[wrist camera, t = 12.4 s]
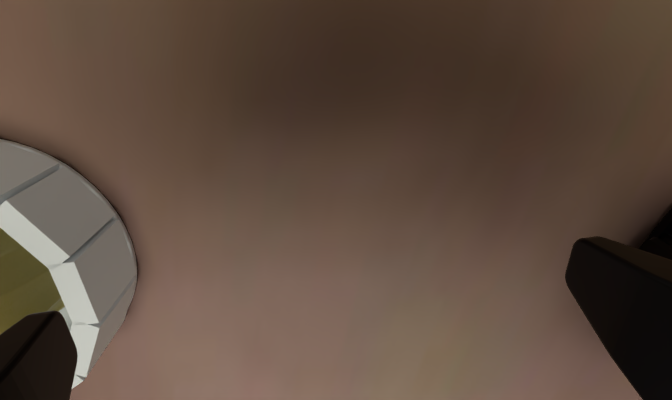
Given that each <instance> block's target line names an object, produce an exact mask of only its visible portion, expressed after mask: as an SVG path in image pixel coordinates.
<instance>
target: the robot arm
mask: <svg viewBox="0 0 672 400" xmlns="http://www.w3.org/2000/svg"><path fill="white" fill-rule="evenodd" d="M565 279H566V283H567V286H568V288H569V290H570V291H571V293H572V295H573V296H574V298H575V299H576V301H577V303H578V304H579V306H580V308H581V309H582V311H583V312H584V314H585V316H586V317H587V319H588V321H589V322H590V324H591V326H592V327H593V329H594V330H595V332H596V334H597V335H598V337H599V339H600V340H601V342H602V343H603V345H604V347H605V348H606V350H607V351H608V353H609V354H610V356H611V357H612V359H613V360H614V362H615V363H616V364H617V366H618V367H619V369H620V370H621V371H622V373H623V374H624V375H625V377H626V378H627V379H628V381H629V382H630V383H631V385H632V386H633V387H634V389H635V390H636V391H637V393H638V394H639V395H640V397H641V398H642V399H643V400H672V208H671V210H670V211H669V212H668V213H667V215H666V216H665V217H664V218H663V220H662V221H661V222H660V223H659V225H658V226H657V227H656V228H655V230H654V231H653V232H652V233H651V235H650V236H649V237H648V238H647V240H646V241H645V242H644V243H643V244H642V246H641V247H640V248H639V249H636V248H633V247H630V246H627V245H624V244H621V243H618V242H615V241H612V240H609V239H606V238H603V237H598V236H596V237H588V238H581V239H579V240H577V241H576V242H575V243H574V245H573V248H572V251H571V255H570V259H569V262H568V266H567V269H566V274H565ZM77 358H78V355H77V348H76V345H75V343H74V340H73V338H72V336H71V333H70V331H69V329H68V326H67V324H66V321H65V319H64V317H63V315H62V314H61V313H60V312H58V311H54V310H53V311H46V312H38V313H32V314H29V315H27V316H25V317H24V318H22V319H21V320H20V321H18V322H17V323H15V324H14V325H13V326H11V327H10V328H8V329H7V330H6V331H4V332H3V333H2V334H0V400H69V399H70V394H71V390H72V385H73V380H74V375H75V370H76V366H77Z"/></svg>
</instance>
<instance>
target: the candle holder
mask: <svg viewBox="0 0 672 400" xmlns="http://www.w3.org/2000/svg"><path fill="white" fill-rule="evenodd" d="M0 228H1V229H2V230H4V231H5V232H6V233H7V234H8V235H10V236H11V237H12V238H13V239H14V240H15V241H17V242H18V243H19V244H20V245H21V246H22V247H24V248H25V249H26V250H27V251H28V252H30V253H31V254H32V255H33V256H34V257H35V258H37V259H38V260H39V261H40V262H41V263H42V264H44V265H45V266H46V267H47V268H48V269H49V271H50V273H51V276H52V278H53V280H54V282H55V285H56V287H57V289H58V292H59V294H60V296H61V298H62V301H63V303H64V305H65V307H64V308H63V309H61V310H60V311H58V312H60V313H61V314H62V315H63V317H64V319H65V321H66V324H67V326H68V329H69V331H70V333H71V336H72V338H73V340H74V343H75V345H76V348H77V355H78V358H77V366H76V370H75V375H74V380H73V385H72V388H74V387H75V386H77V385H78V384H80V383H81V382H83V381H84V379H85V378H86V377H87V375H88V374H89V372H90V371H91V369H92V368H93V367H94V365H95V364H96V362H97V361H98V359H99V358H100V356H101V355H102V353H103V352H104V350H105V349H106V347H107V346H108V344H109V343H110V341H111V340H112V338H113V337H114V335H115V334H116V333H117V331H118V330H119V328H120V327H121V325H122V324H123V322H124V320H125V317H126V314H127V310H128V308H129V306H130V304H131V301H132V299H133V296H134V293H135V288H136V284H137V263H136V255H135V251H134V248H133V244H132V241H131V239H130V236H129V234H128V231H127V229H126V227H125V225H124V224H123V222H122V220H121V218H120V217H119V215H118V213H117V212H116V211H115V209H114V208H113V207H112V205H111V204H110V203H109V201H108V200H107V199H106V198H105V197H104V196H103V195H102V194H101V192H100V191H99V190H98V189H97V188H96V187H95V186H94V185H92V184H91V183H90V182H89V181H88V180H87V179H86V178H84V177H83V176H82V175H81V174H79V173H78V172H76V171H75V170H74V169H72V168H71V167H69V166H68V165H66V164H65V163H63V162H61V161H59V160H58V159H56V158H54V157H52V156H50V155H48V154H46V153H44V152H41V151H39V150H37V149H35V148H32V147H29V146H26V145H23V144H20V143H16V142H13V141H8V140H3V139H0Z"/></svg>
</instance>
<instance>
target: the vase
mask: <svg viewBox="0 0 672 400" xmlns="http://www.w3.org/2000/svg"><path fill="white" fill-rule="evenodd" d="M64 307H65V305H64V303H63V301H62V298H61V296H60V294H59V292H58V289H57V287H56V285H55V282H54V280H53V278H52V276H51V273H50V271H49V269H48V268H47V267H46V266H45V265H44V264H42V263H41V262H40V261H39V260H38V259H37V258H35V257H34V256H33V255H32V254H31V253H30V252H28V251H27V250H26V249H25V248H24V247H22V246H21V245H20V244H19V243H18V242H17V241H15V240H14V239H13V238H12V237H11V236H10V235H8V234H7V233H6V232H5V231H4V230H2V229H1V228H0V334H2V333H3V332H4V331H6V330H7V329H8V328H10V327H11V326H13V325H14V324H15V323H17V322H18V321H20V320H21V319H22V318H24V317H25V316H27V315H29V314H32V313H38V312H46V311H53V310H54V311H60V310H61V309H63V308H64Z"/></svg>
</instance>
